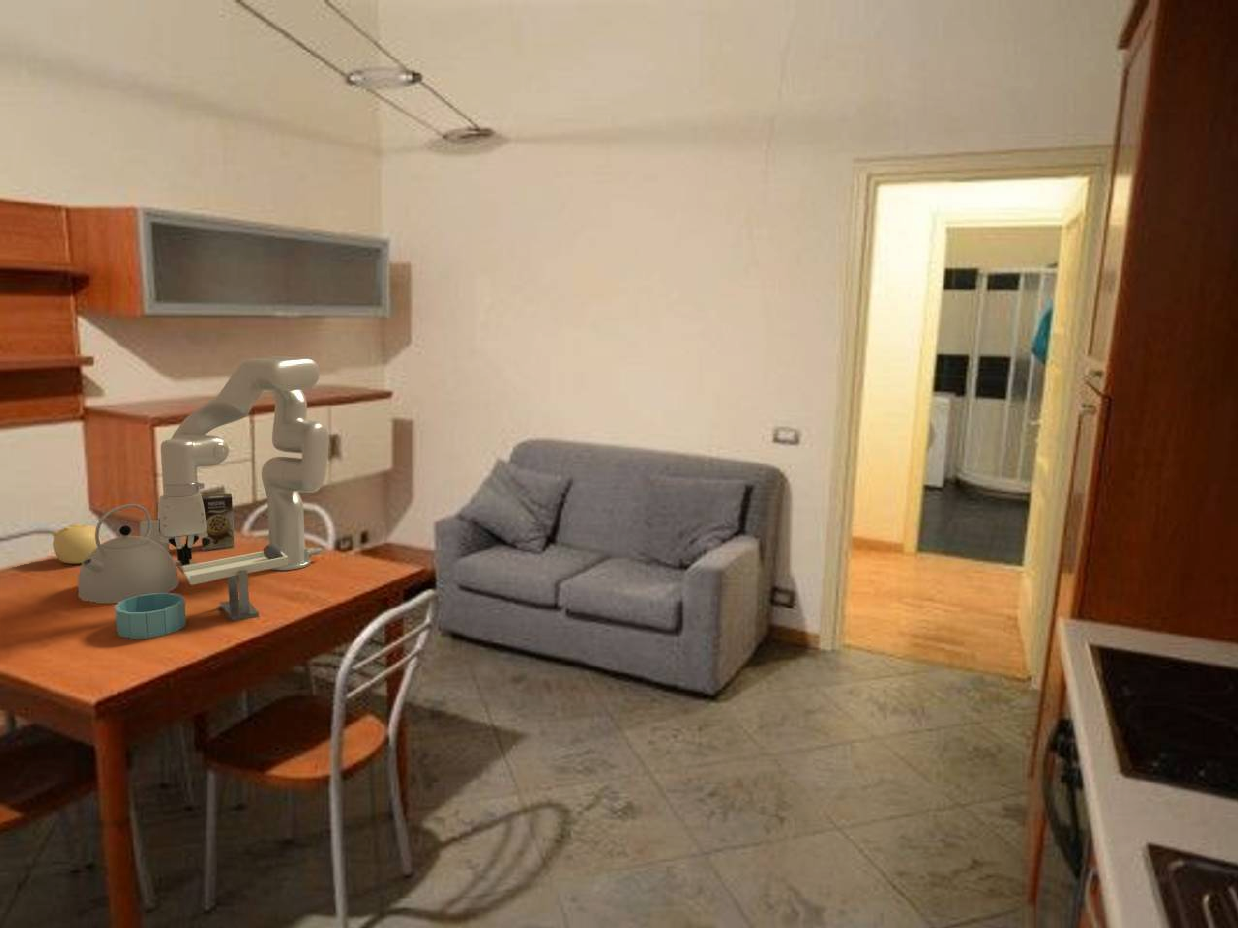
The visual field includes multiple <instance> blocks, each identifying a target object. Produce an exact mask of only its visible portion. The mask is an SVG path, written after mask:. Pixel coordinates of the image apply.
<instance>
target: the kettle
mask: <svg viewBox="0 0 1238 928" xmlns="http://www.w3.org/2000/svg"><path fill="white" fill-rule="evenodd" d="M132 507H133V508H138V509H139V510H141V511H142V512H143V513H144V515H145V517H146V521H147V522H148V528H147V532H146V535H145V537H141V536H140V535H139V536H138V535H130V533H131V532H132V529H131V527H130V526H129V525H125V524H123V525H122V526H121V527H120V528H119V530H118V532H119V534H120V535H121V536H119V537H115V538H111V539H108V540H106V541H104V542H102V545H101V544H100V542H99V536H100V529H101V526H102V524H103V522H104V521H105V520H106V519H107V518H108V517H109V516H110V515H111V514H113V513H115V512H117V511H120V510H122V509H126V508H132ZM151 521H152V520H151V516H150V514H149V512H148V510H147V509H146V508H145V507H144V506H142V505H140V504H138V503H127V504H123V505H119V506H117V507H114V508H112V509H111V510H109V511H107V512H106V513H105V514H103V516H101V518H100V519H99V520H98V522H97V524H96V526H95V527H96V530H95V541H96V545H97V548H96V549H95V550H94V551H93V552H92V553H91V554H90V555H89V556H88V557H87V558H86V560H84V561H83V562H82V563H81V567H80V570H79V574H78V581H77V587H78V597H79V599H80V598H81V599H80V600H81V601H84V602H87V601H90V602H89V603H92V602H96V603H95V604H118V602H121V601H122V600H125V599H129V598H132V597H135V596H139V595H145V594H151V593H171V591H173V590H175V589H177V587H179V584H180V583H179V576H178V575H179V574H178V568H177V566H176V564H175V560H174V558H173V556H172V555H171V554H170V551H169V552H168V551H167V550H166V549H165V548H164V547H162V546H161V545H159V544H158V543H156V542H154V541H152V540H150V539H148V537H149V534H150V531H151Z"/></svg>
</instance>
